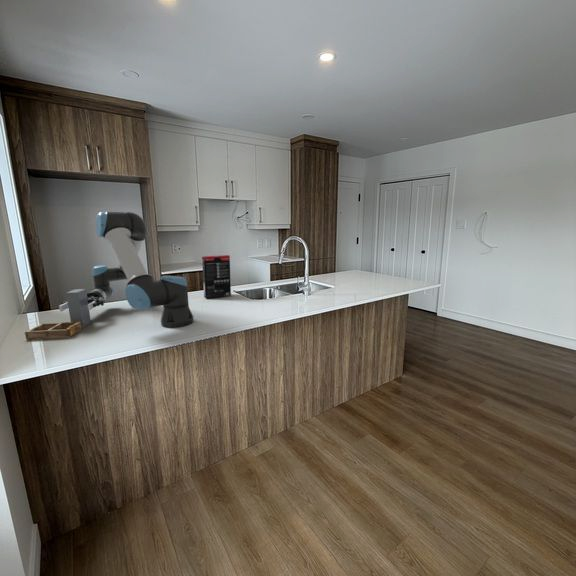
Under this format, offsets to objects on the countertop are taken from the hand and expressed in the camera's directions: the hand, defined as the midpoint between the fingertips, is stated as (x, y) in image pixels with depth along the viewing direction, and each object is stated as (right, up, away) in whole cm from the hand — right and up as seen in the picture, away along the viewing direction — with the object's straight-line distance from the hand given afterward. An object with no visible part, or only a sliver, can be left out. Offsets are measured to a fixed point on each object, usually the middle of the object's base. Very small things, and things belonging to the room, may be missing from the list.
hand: (74, 307), depth 149 cm
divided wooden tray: (-4, -11, -7) cm, 14 cm away
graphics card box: (+54, +3, +60) cm, 81 cm away
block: (0, -9, +6) cm, 10 cm away
